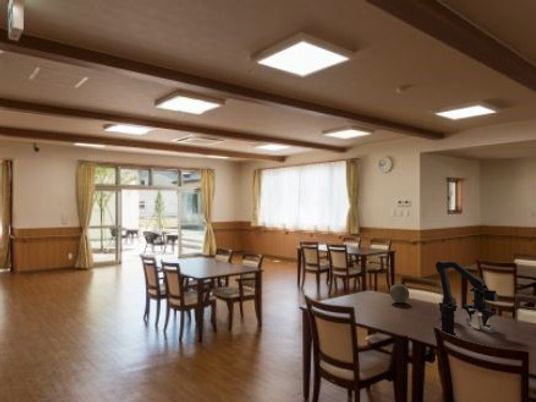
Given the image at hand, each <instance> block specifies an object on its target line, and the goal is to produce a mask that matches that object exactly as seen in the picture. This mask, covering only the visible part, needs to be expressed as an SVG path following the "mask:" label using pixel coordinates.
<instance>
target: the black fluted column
mask: <svg viewBox="0 0 536 402" xmlns="http://www.w3.org/2000/svg"><path fill="white" fill-rule="evenodd" d="M451 305H452V303H448V305H443V302H438V306H439V308H440V309H442V313H441V312H440V315H441V314H442V320H441V330H442V331H444V332H446V333H449V334H451V335H454V336H456V337H457V338H458V336H457V333H456V332H455V317H456V315H455V312H457V308H458V305H457V304H456V305H453V306H451ZM440 309H439V310H440Z"/></svg>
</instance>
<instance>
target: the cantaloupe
mask: <svg viewBox="0 0 536 402" xmlns="http://www.w3.org/2000/svg"><path fill="white" fill-rule="evenodd" d="M389 295H390V297H391V299H392V300H393V301H394V302H395V303H398V304H403V303H406V302H407V301H408V300H409V298H410V291H409V288H407V286H406V285H404V284H402V283H396V284H393V285H392V286H391V287H390V289H389Z"/></svg>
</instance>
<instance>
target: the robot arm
mask: <svg viewBox="0 0 536 402" xmlns="http://www.w3.org/2000/svg"><path fill="white" fill-rule="evenodd" d="M434 265H435V269H436V271H437V273H438V275H439V277H440V283H441V289H442V293H443V300H442V303H443V305H448V303H452V305H451V306H453V305H457V301H456V300H457V299H456V297H453V296H452V291H451V286H450V280H449V277H448V272H449V269H454V270H455V271H456V272H457V273H459V274H460V275H461V276H462V277H464V279H466V280H467V281H468V282H469V284H470V285H471V286H472V288H471V289H469V291H470V292H473V299H472V300H471V302H473V304H471V303H469V304H468V303H467V304H464V306H463V309H464V310H465V311H466V313H467V314H468V317H470V318H471V320H472V314H476V312H479V313H480V312H481V313H482V315H481V317H482V322H483V326H485V325H486V323H487V321H488V319H489V318H492V317H494V315H495V312H494V311H493V310H491V309H492V308H493V307H492V306H493V305H491V304H488V303H486V301H489V302H492V303H497V302H498V298H499V296H498V293H497V290H496V289H495V290H493V289H489V287H488V285H486V281H485V280H484V279H483V278H481V277H479V276H477V275H474V274H473V273H472V272H471V271H469V270H468V269H466V268H465V267H464V266H462V264H460V263H459V262H458V261H456V260H455V261H446V260H441V261H437V262H436V263H435V264H434ZM438 309H439V312H440V318H439V320H440V321H442V314H441V313H442V309H440V307H439V308H438ZM489 320H490V319H489ZM486 326H487V325H486Z"/></svg>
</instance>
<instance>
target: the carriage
mask: <svg viewBox="0 0 536 402" xmlns="http://www.w3.org/2000/svg"><path fill="white" fill-rule="evenodd" d="M481 315H482V314H480V313H474V314H472V326H471V327H472V328H474V329H477V330H481V329H480V325H483V322H482V317H481ZM485 327H487V325H485Z"/></svg>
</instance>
